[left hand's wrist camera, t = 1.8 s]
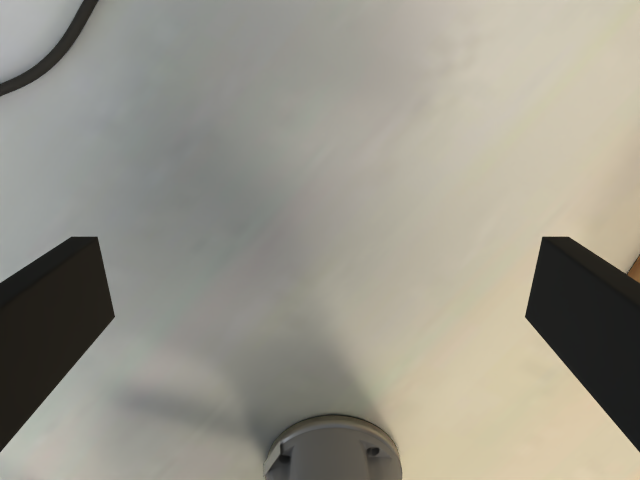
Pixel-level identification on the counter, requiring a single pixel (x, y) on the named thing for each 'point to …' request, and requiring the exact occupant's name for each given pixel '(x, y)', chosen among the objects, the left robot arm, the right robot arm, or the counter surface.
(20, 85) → the right robot arm
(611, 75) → the counter surface
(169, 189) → the counter surface
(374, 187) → the counter surface
